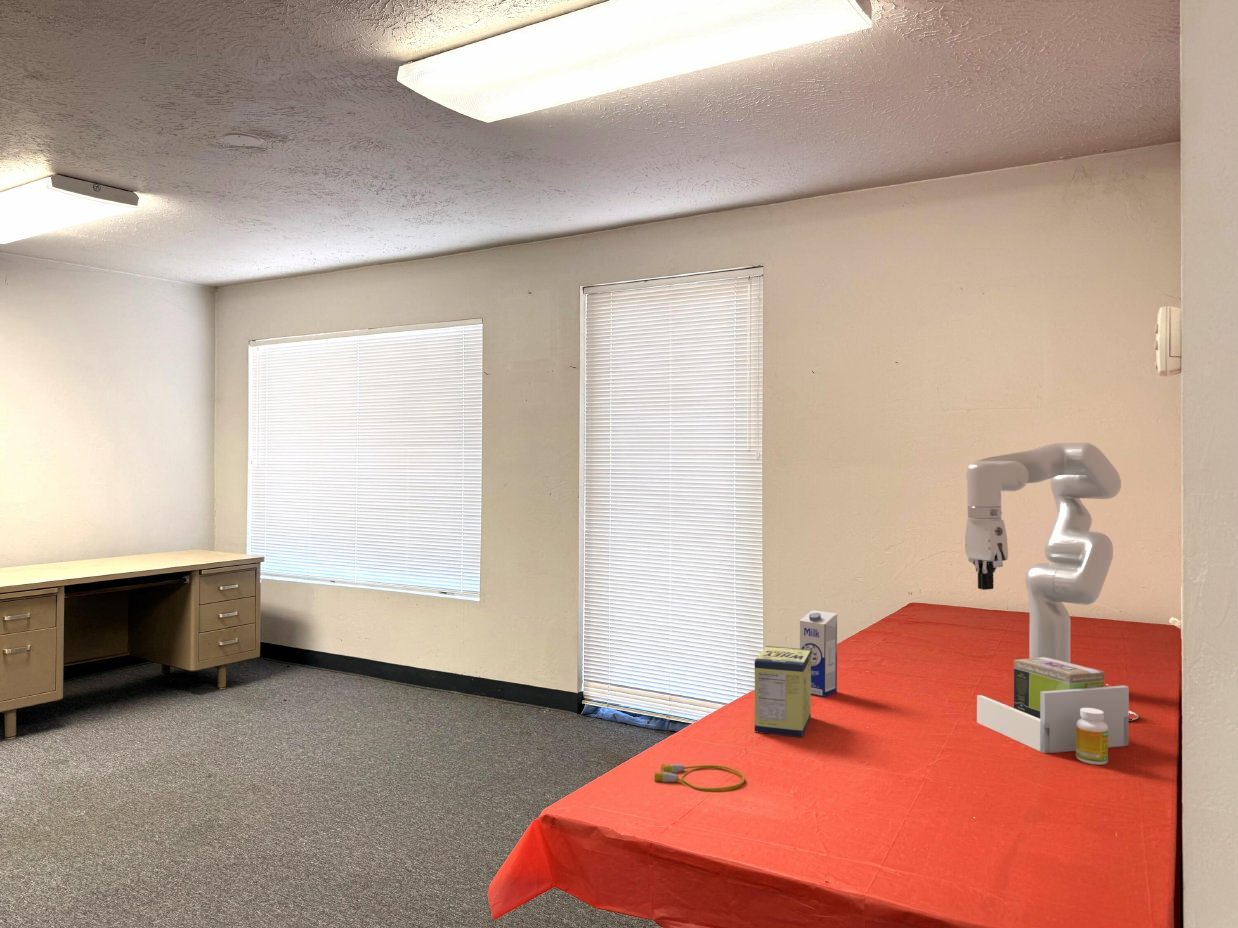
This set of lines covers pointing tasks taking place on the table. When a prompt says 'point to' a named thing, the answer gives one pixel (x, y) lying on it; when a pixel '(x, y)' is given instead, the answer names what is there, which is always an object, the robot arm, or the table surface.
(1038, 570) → the robot arm
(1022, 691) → the tea box
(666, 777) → the extension cord
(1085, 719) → the supplement bottle
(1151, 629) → the table surface
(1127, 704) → the display bay
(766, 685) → the protein box
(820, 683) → the milk carton
